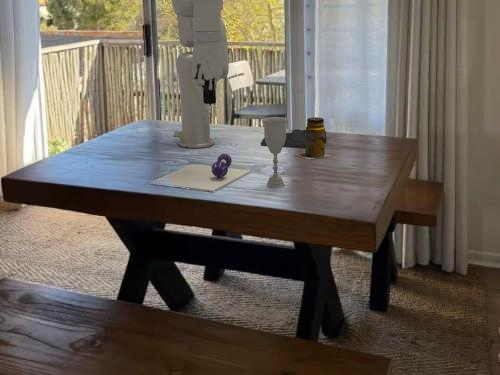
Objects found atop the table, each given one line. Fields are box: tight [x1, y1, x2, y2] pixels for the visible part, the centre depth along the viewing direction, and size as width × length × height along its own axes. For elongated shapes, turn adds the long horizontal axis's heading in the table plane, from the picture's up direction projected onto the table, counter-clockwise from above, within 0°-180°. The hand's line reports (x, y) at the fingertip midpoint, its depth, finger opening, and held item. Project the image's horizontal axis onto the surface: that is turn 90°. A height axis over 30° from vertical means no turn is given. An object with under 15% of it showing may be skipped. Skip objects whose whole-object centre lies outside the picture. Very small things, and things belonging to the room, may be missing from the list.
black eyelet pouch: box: [260, 128, 328, 150], centre depth 232 cm, size 15×22×5 cm
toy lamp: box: [211, 153, 232, 177], centre depth 193 cm, size 5×5×17 cm
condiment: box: [296, 116, 331, 160], centre depth 212 cm, size 7×8×12 cm
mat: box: [153, 163, 252, 193], centre depth 190 cm, size 20×22×1 cm
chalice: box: [261, 116, 289, 189], centre depth 180 cm, size 7×7×18 cm
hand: (209, 103), depth 191 cm, fingers closed
